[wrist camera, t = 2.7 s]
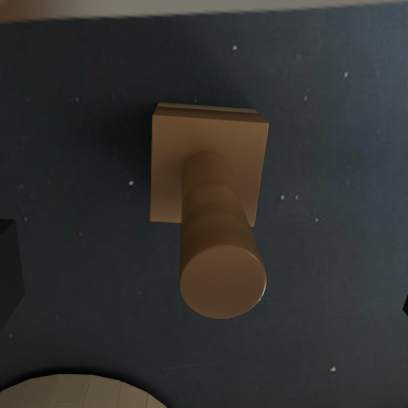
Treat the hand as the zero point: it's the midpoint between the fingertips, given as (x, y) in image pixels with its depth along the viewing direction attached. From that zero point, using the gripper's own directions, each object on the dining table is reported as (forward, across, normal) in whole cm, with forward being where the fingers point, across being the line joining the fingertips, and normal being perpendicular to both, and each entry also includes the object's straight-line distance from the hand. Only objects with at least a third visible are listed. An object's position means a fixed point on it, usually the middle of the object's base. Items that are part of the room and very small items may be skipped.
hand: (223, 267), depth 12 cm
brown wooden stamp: (+13, 0, 0) cm, 13 cm away
